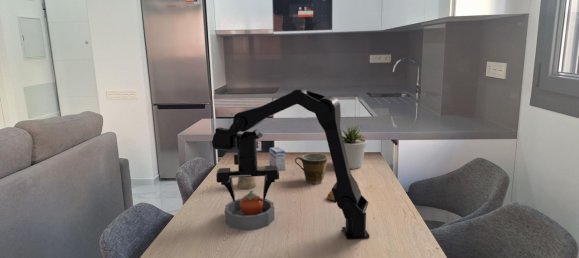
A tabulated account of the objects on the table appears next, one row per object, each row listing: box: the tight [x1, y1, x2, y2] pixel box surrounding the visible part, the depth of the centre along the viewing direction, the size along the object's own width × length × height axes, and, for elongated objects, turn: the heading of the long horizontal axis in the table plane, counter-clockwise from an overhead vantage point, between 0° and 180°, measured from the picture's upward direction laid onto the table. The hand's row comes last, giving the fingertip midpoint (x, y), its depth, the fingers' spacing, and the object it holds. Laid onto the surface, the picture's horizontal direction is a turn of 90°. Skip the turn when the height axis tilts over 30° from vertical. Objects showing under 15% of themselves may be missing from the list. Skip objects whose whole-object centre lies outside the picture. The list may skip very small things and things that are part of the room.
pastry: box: [327, 189, 335, 201], centre depth 139 cm, size 9×7×4 cm
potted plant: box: [341, 123, 368, 170], centre depth 171 cm, size 13×14×20 cm
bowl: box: [224, 197, 275, 231], centre depth 123 cm, size 15×15×4 cm
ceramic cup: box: [294, 153, 328, 185], centre depth 155 cm, size 13×10×10 cm
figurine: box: [237, 176, 258, 190], centre depth 150 cm, size 7×7×12 cm
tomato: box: [240, 190, 263, 216], centre depth 123 cm, size 7×7×8 cm
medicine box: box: [268, 146, 286, 172], centre depth 171 cm, size 8×4×9 cm, turn 25°
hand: (249, 200), depth 122 cm, fingers open, 9 cm apart
